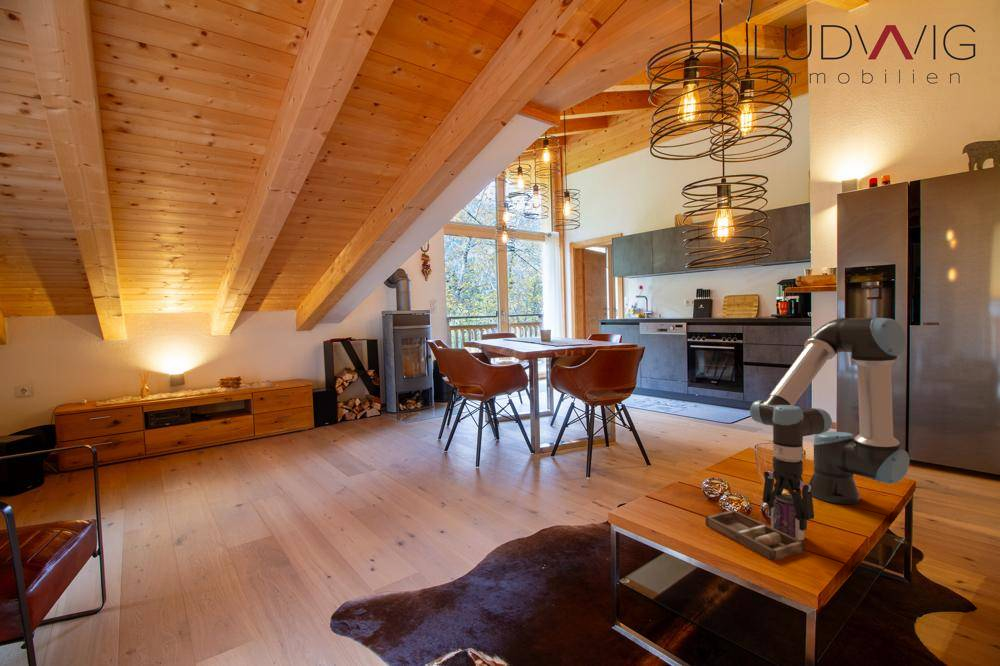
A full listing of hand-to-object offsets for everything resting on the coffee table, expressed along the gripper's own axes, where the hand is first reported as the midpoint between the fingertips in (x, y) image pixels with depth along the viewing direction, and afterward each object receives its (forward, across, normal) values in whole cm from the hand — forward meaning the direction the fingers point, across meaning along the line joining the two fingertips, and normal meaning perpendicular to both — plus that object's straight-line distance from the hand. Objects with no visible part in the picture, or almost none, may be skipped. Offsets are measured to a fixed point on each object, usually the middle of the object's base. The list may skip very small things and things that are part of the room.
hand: (787, 533), depth 137 cm
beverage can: (+1, 0, 0) cm, 1 cm away
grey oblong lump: (0, +2, -11) cm, 11 cm away
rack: (+1, -3, -11) cm, 11 cm away
